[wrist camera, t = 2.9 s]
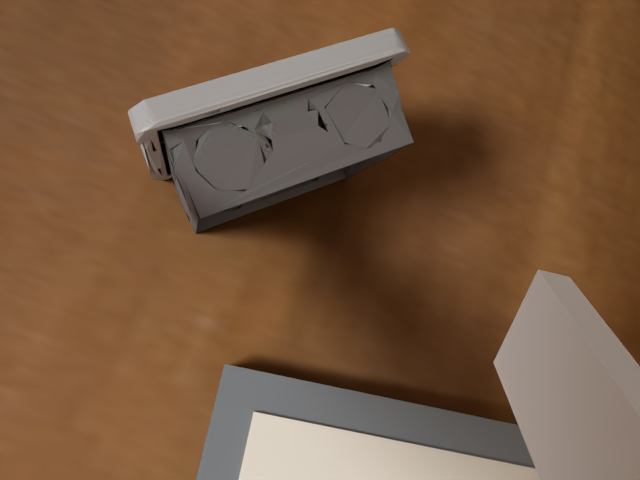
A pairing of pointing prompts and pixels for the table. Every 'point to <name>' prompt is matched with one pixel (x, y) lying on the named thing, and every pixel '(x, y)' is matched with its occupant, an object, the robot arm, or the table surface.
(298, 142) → the electrical switch
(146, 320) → the table surface
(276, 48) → the table surface
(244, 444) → the plate
